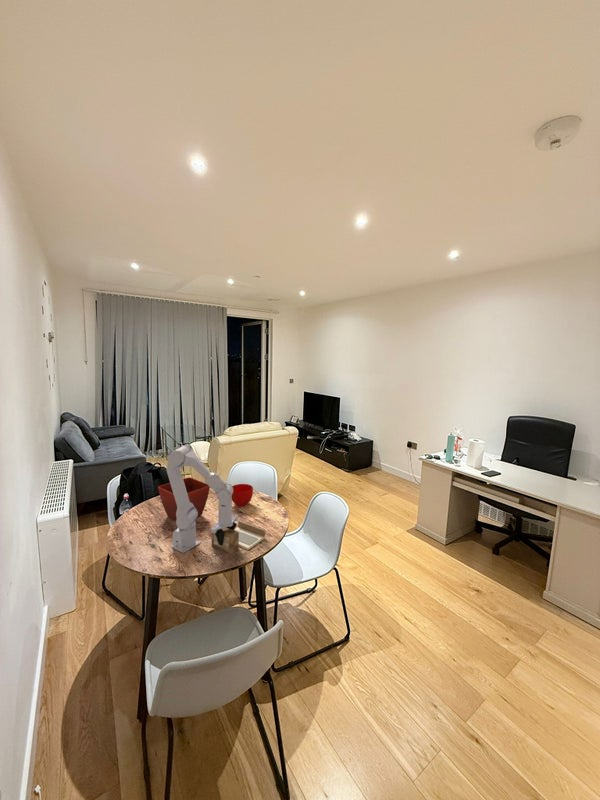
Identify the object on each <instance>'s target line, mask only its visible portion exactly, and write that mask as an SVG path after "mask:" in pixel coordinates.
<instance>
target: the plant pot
mask: <svg viewBox="0 0 600 800" xmlns="http://www.w3.org/2000/svg"><path fill="white" fill-rule="evenodd" d="M183 480H184V484H185V487H186V491H187V494H188V497H189V501H190V502H191V503H192V504H193V505H194V507H195V509H196V510H197V512H198V516H197V518H199V517H201V516H202V515H203V513H204V510H205V508H206V505H207V502H208V497H209V494H210V489H211V488H210V487H209V486H208V485H207V484H206V483H205V482H203V481H201V480H198V479H196V478H193V477H189V476H188V477H185V478H183ZM157 489H158V493H159V498H160V501H161V504H162V507H163V509H164V512H165V514H166V516H167V518H169V519H170V520H172V521H174V522H176V520H177V517H176V512H177V504H176V501H175V497H174V494H173V491H172V487H171V484H170V482H169V483H165V484H161V485H159V486H157Z"/></svg>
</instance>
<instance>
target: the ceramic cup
mask: <svg viewBox="0 0 600 800" xmlns="http://www.w3.org/2000/svg"><path fill="white" fill-rule="evenodd" d="M231 486H232V487H233V493H232V495H231V496H232V503H233V504H234V505H235V506H236V507H238V508H244V507H246V506H248V504H249V503H250V502H251V500H252V499H253V494H254V486H253V485H250V484H248V483H238V484H234V485H231Z"/></svg>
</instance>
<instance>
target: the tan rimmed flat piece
mask: <svg viewBox="0 0 600 800" xmlns="http://www.w3.org/2000/svg"><path fill="white" fill-rule="evenodd" d="M237 525H238V526H237V527H236V528H235V531H237V532H239V548H243V549H245V550H247V551H249V550H251V549H252V548H254V546H256V545H258V544H259V543H260V542H262V541H263V540H265V539H266V529H264V528H261V527H258V526H255V525H252V524H250V523H247V522H245V521H242V520H238V521H237Z"/></svg>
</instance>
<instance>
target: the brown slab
mask: <svg viewBox="0 0 600 800" xmlns="http://www.w3.org/2000/svg"><path fill="white" fill-rule="evenodd" d="M222 530H223V531H225V534H224V539H223V545H222V546H221V545H219V544H218V541H217V538H216V535H215V534H214V533H211V546H212V547H215V548H217V549H219V550H221V551H224V552H226V553H228V554H231V555H233V554H234V553H236V552H237V551H238V550H239V548H240V546H239V532H237V531H235V530H232V529H230V528H227V527H225V528H222Z"/></svg>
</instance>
